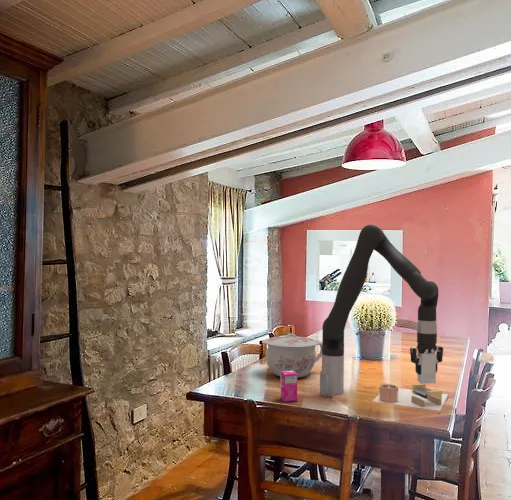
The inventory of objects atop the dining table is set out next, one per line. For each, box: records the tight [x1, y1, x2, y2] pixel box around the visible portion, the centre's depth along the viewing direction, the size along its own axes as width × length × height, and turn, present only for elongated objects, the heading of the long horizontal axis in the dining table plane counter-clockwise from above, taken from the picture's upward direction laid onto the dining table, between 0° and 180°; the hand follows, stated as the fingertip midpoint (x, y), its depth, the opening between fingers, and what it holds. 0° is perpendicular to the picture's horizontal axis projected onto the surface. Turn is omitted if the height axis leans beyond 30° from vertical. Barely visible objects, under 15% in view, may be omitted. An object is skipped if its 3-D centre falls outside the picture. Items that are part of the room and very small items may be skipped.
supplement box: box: [280, 371, 298, 403], centre depth 216 cm, size 6×6×12 cm
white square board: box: [372, 383, 449, 415], centre depth 218 cm, size 26×26×5 cm
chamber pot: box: [262, 333, 322, 379], centre depth 259 cm, size 28×28×21 cm
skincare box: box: [416, 351, 437, 385], centre depth 210 cm, size 6×4×12 cm
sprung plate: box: [415, 387, 433, 396], centre depth 221 cm, size 6×8×1 cm
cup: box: [379, 383, 399, 404], centre depth 214 cm, size 7×7×6 cm
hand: (426, 373), depth 210 cm, fingers closed on skincare box, 6 cm apart
